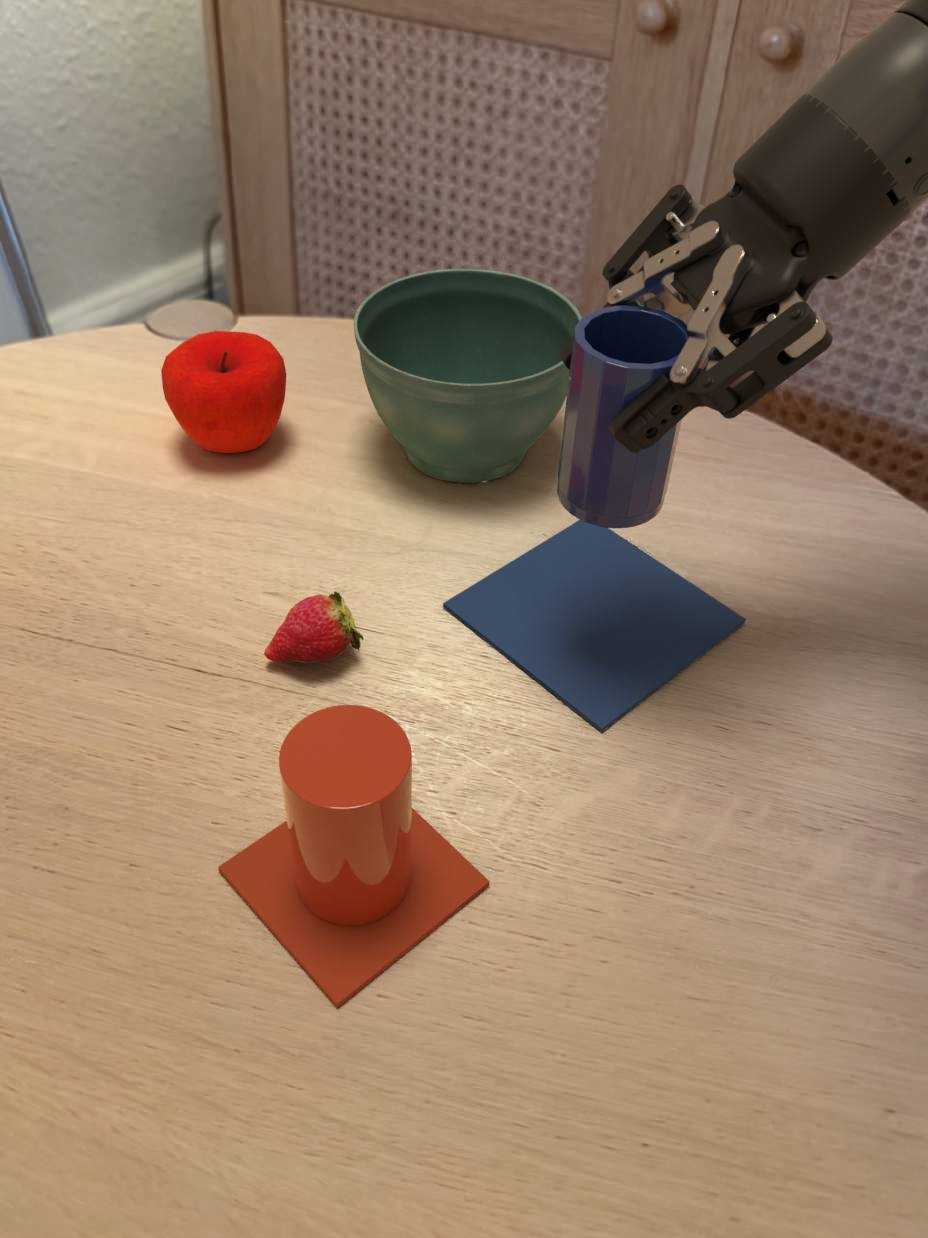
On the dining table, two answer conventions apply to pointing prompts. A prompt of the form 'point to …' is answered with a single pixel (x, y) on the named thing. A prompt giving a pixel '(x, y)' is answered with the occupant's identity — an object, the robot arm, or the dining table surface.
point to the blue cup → (597, 393)
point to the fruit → (315, 631)
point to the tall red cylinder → (349, 812)
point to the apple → (225, 389)
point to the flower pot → (465, 367)
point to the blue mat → (594, 620)
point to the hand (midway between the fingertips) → (596, 403)
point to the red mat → (362, 950)
